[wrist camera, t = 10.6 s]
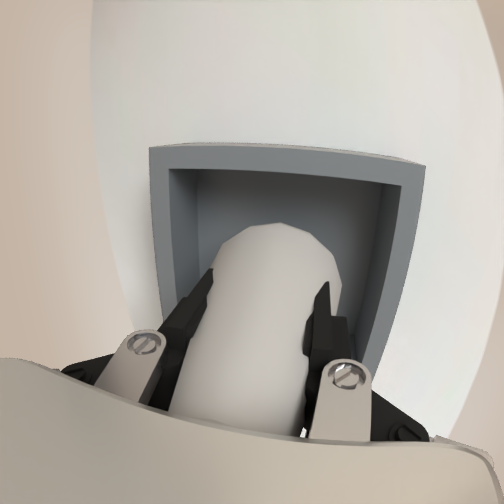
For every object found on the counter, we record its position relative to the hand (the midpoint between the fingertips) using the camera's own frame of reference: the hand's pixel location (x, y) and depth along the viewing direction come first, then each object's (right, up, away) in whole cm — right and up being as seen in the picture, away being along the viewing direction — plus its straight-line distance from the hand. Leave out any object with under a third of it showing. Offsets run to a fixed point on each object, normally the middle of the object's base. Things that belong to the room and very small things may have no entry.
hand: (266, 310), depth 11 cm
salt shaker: (+1, +2, +4) cm, 4 cm away
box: (+1, +2, +7) cm, 7 cm away
